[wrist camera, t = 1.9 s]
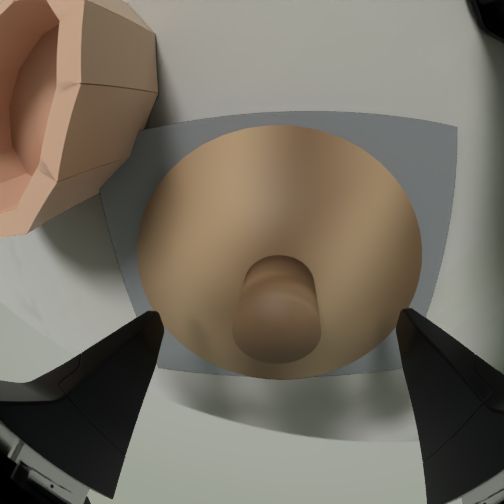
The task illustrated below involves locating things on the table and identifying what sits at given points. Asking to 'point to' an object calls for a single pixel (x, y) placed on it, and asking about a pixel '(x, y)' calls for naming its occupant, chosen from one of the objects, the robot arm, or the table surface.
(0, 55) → the bowl
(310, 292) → the lid
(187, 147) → the mat
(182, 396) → the table surface
